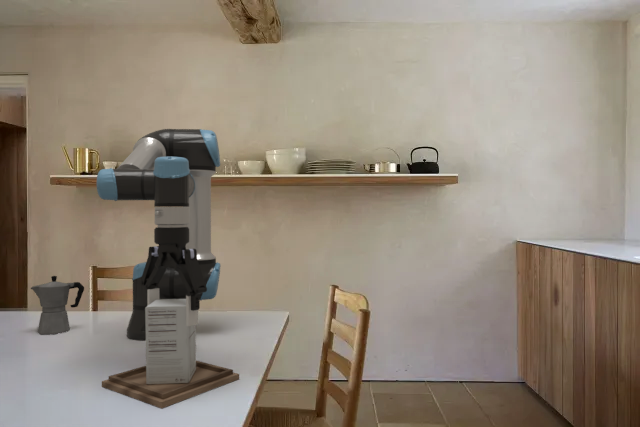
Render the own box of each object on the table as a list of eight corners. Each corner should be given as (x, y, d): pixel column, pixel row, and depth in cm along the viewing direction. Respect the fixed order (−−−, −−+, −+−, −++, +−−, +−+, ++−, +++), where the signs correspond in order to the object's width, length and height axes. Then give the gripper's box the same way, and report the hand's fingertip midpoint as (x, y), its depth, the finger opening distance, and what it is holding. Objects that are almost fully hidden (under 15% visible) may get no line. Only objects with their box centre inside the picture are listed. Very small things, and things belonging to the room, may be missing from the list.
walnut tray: (101, 386, 108) (101, 376, 108) (179, 363, 125) (179, 354, 125) (161, 408, 95) (161, 397, 95) (239, 379, 112) (239, 369, 112)
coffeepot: (28, 336, 152) (28, 278, 152) (32, 330, 161) (32, 275, 161) (83, 332, 158) (83, 276, 158) (84, 326, 167) (84, 273, 167)
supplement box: (156, 371, 114) (155, 298, 115) (196, 369, 115) (195, 297, 115) (145, 385, 105) (144, 306, 105) (189, 383, 106) (188, 305, 106)
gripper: (124, 225, 114) (124, 316, 115) (195, 228, 100) (196, 332, 100) (152, 224, 120) (152, 311, 121) (223, 226, 106) (223, 325, 106)
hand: (172, 320), depth 110 cm, fingers open, 13 cm apart
